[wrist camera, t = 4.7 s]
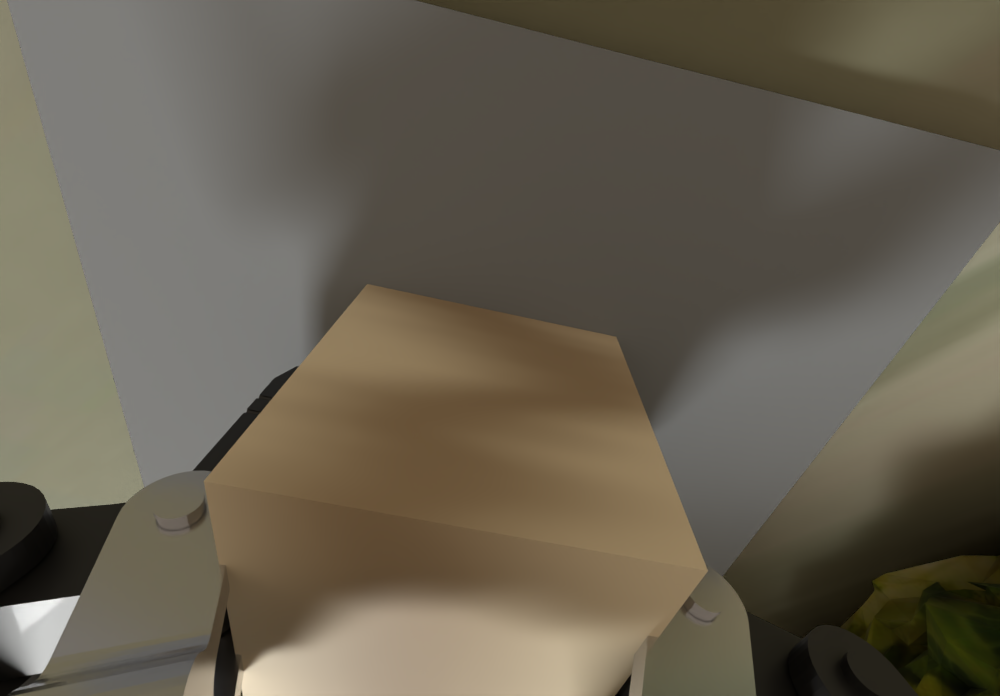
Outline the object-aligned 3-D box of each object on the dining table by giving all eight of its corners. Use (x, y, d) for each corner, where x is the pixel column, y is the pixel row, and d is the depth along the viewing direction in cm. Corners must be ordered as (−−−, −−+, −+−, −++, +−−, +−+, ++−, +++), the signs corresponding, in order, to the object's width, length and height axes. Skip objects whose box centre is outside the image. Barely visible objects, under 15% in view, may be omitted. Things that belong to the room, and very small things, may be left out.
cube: (616, 337, 9) (708, 570, 4) (550, 503, 11) (567, 758, 7) (367, 284, 8) (203, 481, 4) (355, 467, 11) (245, 712, 7)
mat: (1010, 157, 7) (1046, 162, 7) (675, 610, 14) (681, 629, 14) (19, -96, 6) (-25, -113, 6) (173, 524, 13) (159, 542, 13)
